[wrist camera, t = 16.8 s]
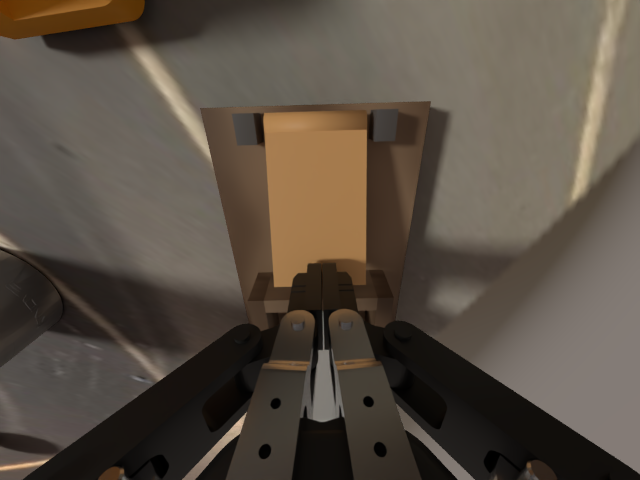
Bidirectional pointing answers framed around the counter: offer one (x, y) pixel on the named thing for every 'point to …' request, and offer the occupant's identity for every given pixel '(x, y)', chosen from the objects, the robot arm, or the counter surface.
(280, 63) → the counter surface
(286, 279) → the tan flat block
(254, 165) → the brown open tray piece
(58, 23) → the bracket
